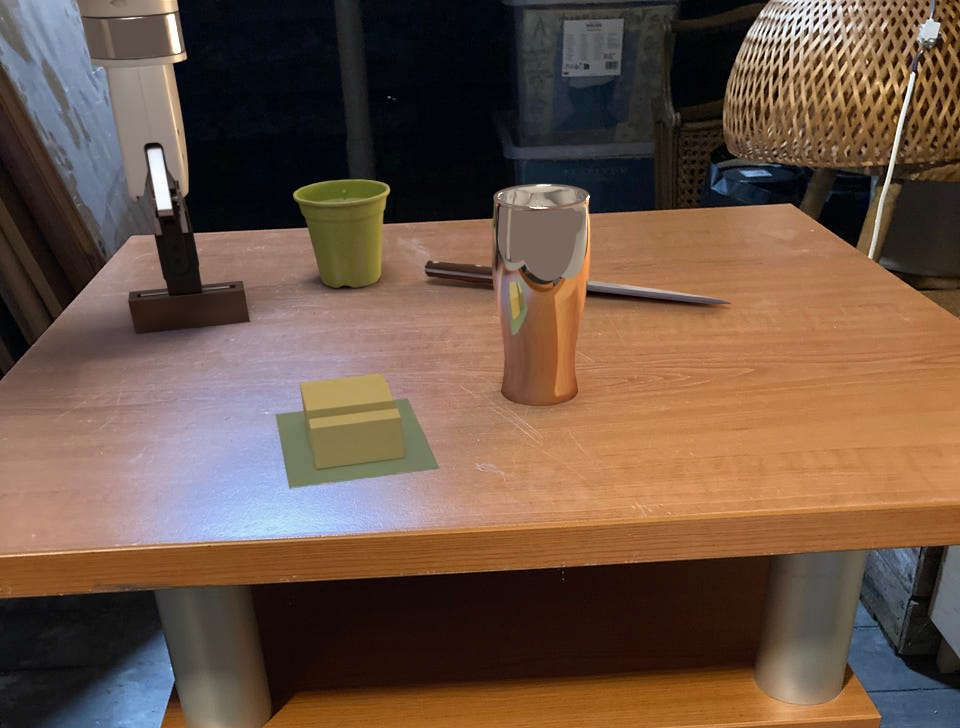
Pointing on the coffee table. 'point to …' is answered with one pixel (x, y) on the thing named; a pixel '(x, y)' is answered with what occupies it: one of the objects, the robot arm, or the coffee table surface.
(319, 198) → the plant pot
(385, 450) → the butter slice
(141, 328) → the knife block
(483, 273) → the steak knife
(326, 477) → the butter dish
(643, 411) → the coffee table surface
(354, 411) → the butter block
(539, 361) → the beer glass
